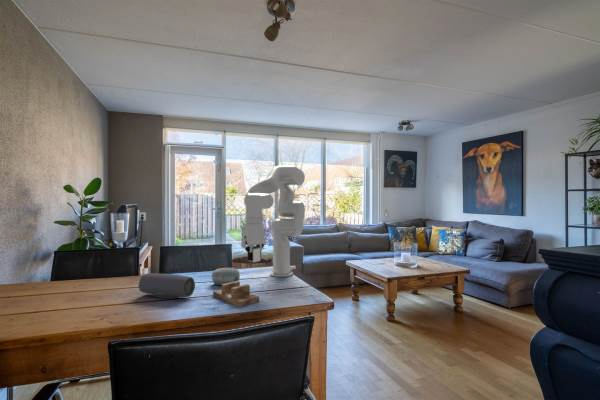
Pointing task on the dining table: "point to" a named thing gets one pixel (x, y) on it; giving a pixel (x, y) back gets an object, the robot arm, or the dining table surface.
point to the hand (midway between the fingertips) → (254, 259)
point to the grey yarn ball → (225, 275)
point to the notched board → (236, 294)
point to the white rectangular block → (256, 253)
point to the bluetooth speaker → (167, 285)
